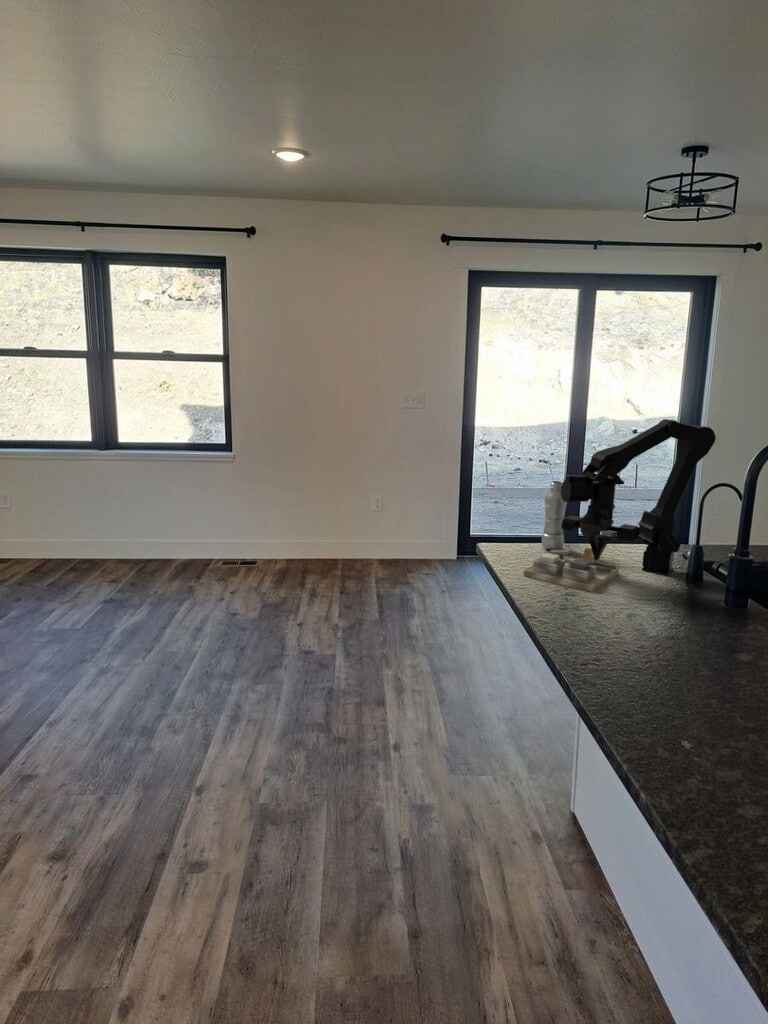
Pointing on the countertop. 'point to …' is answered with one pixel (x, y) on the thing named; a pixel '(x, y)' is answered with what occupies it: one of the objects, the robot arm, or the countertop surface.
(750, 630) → the countertop surface
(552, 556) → the cream button
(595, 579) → the panel
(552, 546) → the plastic bottle
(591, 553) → the slider
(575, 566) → the charcoal button
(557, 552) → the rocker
